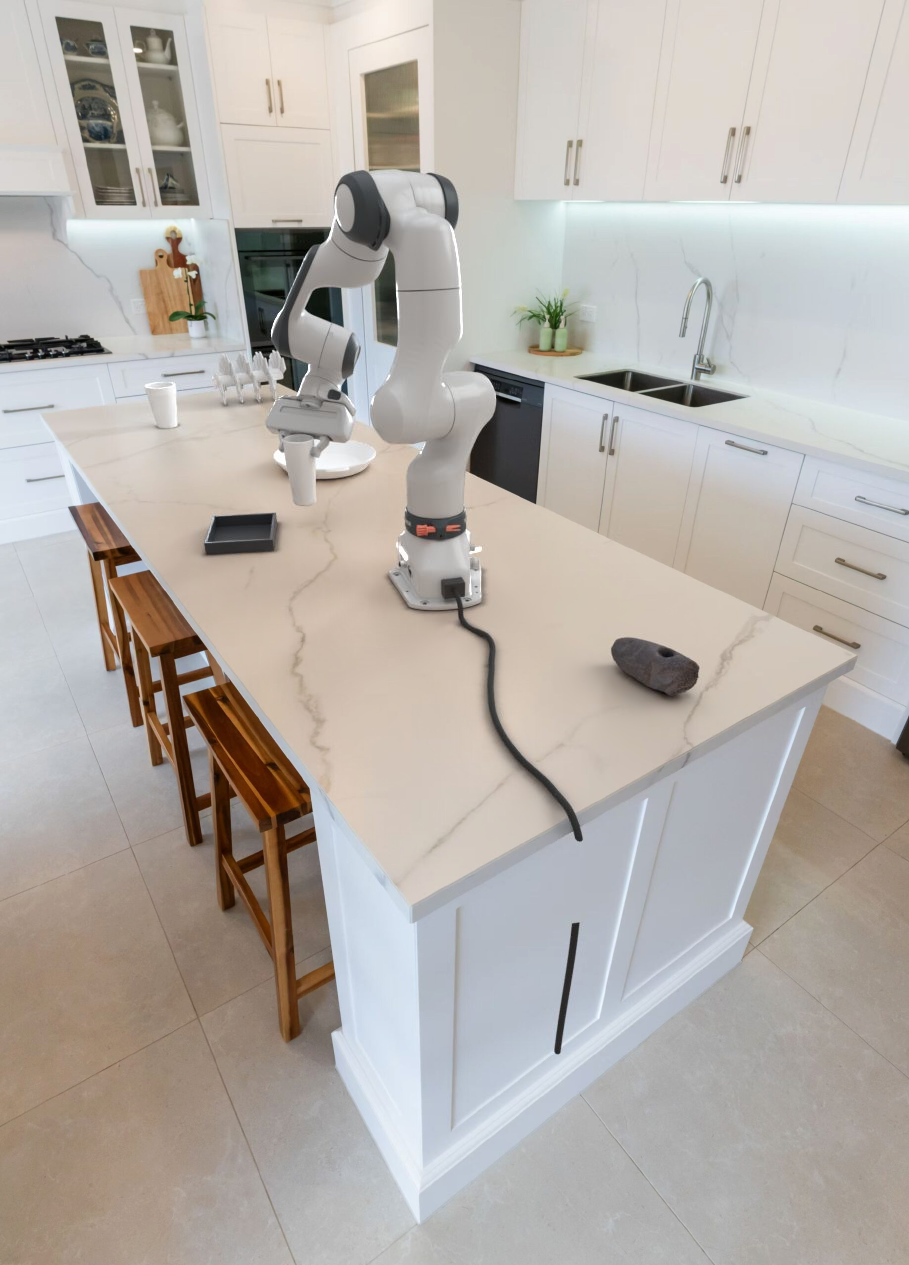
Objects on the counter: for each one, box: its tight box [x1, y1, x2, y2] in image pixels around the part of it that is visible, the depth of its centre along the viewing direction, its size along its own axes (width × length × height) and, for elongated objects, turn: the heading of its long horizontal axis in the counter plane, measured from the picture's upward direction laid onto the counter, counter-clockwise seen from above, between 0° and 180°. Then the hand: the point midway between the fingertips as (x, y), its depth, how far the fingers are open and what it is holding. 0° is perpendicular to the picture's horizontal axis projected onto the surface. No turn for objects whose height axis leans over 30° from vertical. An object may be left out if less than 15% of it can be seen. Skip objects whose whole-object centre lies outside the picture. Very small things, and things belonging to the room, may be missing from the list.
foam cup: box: [144, 381, 178, 429], centre depth 239 cm, size 10×9×13 cm
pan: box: [272, 439, 377, 480], centre depth 207 cm, size 34×28×4 cm
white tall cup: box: [283, 434, 317, 507], centre depth 165 cm, size 7×7×15 cm
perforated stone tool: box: [610, 636, 700, 697], centre depth 116 cm, size 15×5×7 cm, turn 40°
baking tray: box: [203, 512, 278, 556], centre depth 164 cm, size 16×14×3 cm
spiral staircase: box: [211, 349, 287, 406], centre depth 267 cm, size 18×18×25 cm
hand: (298, 453), depth 162 cm, fingers closed on white tall cup, 7 cm apart
